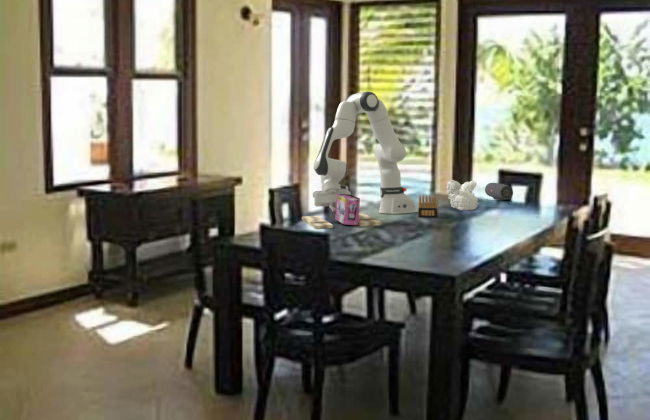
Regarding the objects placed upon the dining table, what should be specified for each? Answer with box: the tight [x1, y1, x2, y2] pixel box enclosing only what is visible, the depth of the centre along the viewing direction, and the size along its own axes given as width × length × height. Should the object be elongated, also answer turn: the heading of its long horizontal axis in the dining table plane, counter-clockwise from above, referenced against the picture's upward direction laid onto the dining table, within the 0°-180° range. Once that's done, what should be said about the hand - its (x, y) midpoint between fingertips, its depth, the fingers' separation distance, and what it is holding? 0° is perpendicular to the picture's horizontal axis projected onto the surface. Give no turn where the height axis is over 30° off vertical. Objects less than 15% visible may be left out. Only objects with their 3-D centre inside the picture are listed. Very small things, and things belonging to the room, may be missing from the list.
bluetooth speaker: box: [484, 182, 514, 201], centre depth 547 cm, size 23×9×10 cm, turn 14°
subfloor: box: [301, 212, 383, 230], centre depth 468 cm, size 34×40×2 cm
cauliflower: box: [446, 179, 479, 211], centre depth 508 cm, size 19×20×20 cm
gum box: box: [334, 194, 361, 226], centre depth 462 cm, size 24×8×14 cm, turn 11°
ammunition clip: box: [417, 194, 439, 219], centre depth 475 cm, size 11×2×12 cm, turn 67°
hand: (335, 211), depth 472 cm, fingers closed
